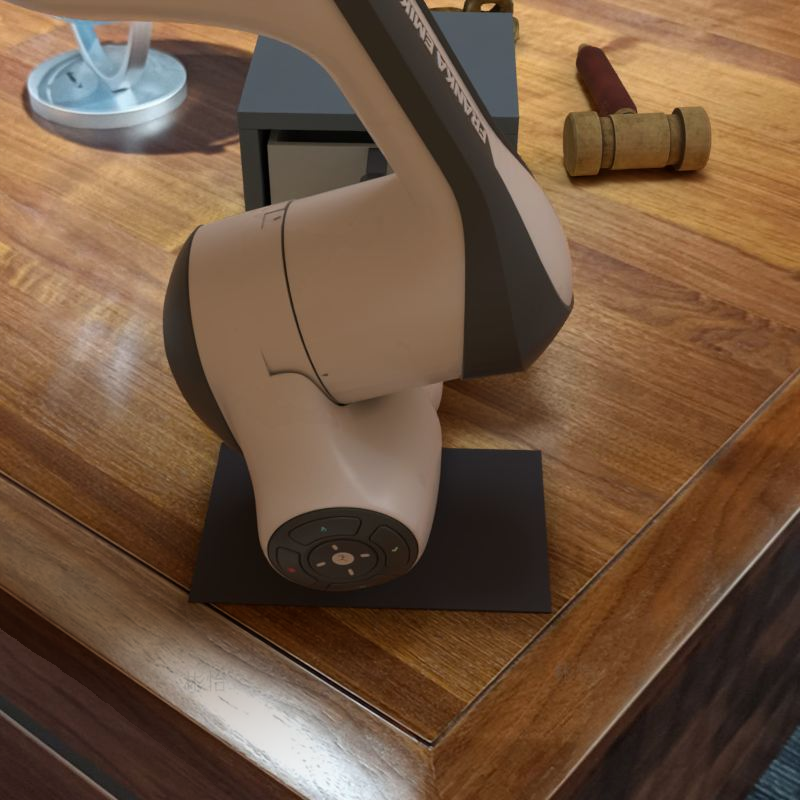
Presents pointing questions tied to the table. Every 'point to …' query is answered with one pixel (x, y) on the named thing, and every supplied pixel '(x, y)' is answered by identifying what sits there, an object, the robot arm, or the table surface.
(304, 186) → the bin
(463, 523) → the mat
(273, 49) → the cabinet
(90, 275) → the table surface
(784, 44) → the table surface
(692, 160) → the gavel
